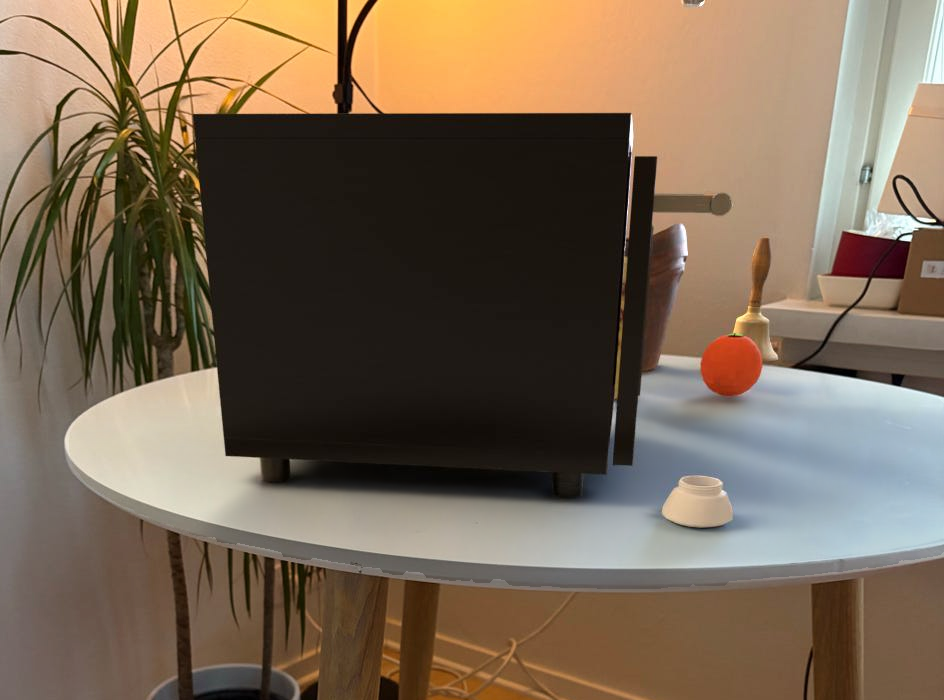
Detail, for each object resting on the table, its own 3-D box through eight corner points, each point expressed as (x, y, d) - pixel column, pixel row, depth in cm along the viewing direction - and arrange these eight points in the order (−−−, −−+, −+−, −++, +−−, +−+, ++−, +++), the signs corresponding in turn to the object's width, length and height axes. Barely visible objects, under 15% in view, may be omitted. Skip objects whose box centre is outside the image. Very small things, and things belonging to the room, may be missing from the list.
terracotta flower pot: (518, 357, 139) (522, 219, 131) (652, 354, 142) (664, 219, 135) (551, 380, 123) (557, 224, 116) (701, 376, 126) (717, 225, 119)
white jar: (694, 535, 69) (746, 524, 71) (698, 494, 68) (751, 484, 70) (647, 516, 73) (698, 506, 75) (651, 477, 72) (703, 468, 74)
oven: (612, 421, 102) (633, 134, 91) (604, 507, 75) (631, 112, 64) (332, 410, 106) (318, 133, 95) (228, 486, 79) (192, 113, 68)
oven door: (692, 397, 98) (716, 164, 90) (711, 469, 73) (747, 156, 65) (618, 394, 100) (635, 164, 91) (612, 465, 74) (634, 156, 66)
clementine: (702, 387, 120) (708, 326, 117) (761, 391, 118) (769, 329, 115) (693, 399, 113) (700, 334, 110) (755, 403, 111) (764, 338, 108)
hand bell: (741, 352, 145) (755, 235, 138) (790, 359, 139) (807, 237, 132) (705, 357, 140) (718, 236, 133) (754, 365, 134) (771, 239, 127)
